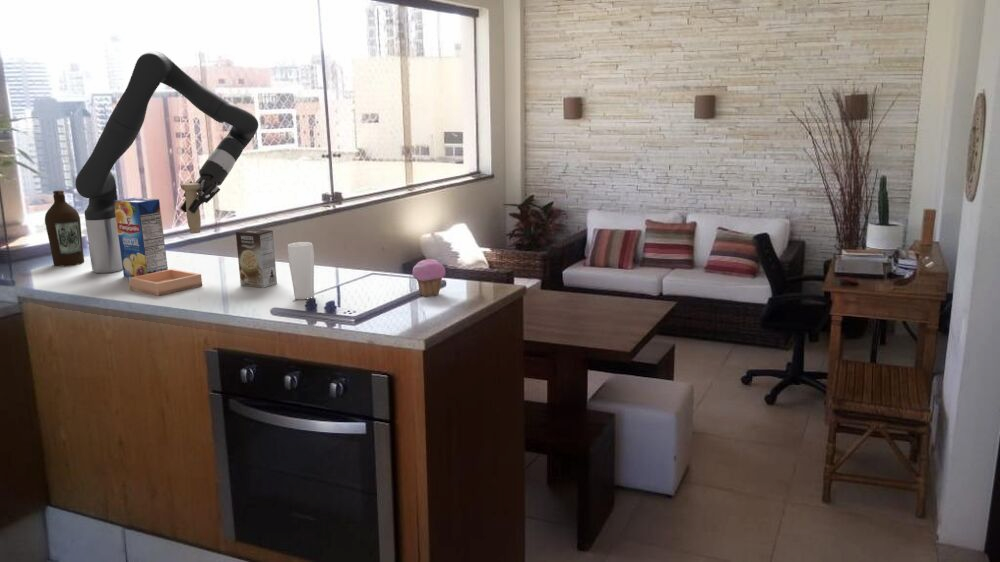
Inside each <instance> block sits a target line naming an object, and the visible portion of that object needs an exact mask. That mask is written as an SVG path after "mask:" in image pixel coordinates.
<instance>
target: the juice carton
mask: <svg viewBox="0 0 1000 562" xmlns="http://www.w3.org/2000/svg"><path fill="white" fill-rule="evenodd" d="M114 208H115V215H116V222H117V230H118V237H119V244H120V252H121V259H122V266H123V270H122V273H123V277H124V278H131V277H135V276H140V275H145V274H150V273H155V272H160V271H164V270H169V269H168V261H167V260H168V259H167V253H166V252H167V251H166V244H165V236H164V235H165V234H164V228H163V219H162V211H161V203H160V198H146V197H145V198H143V197H129V198H123V199H117V200H115V201H114Z"/></svg>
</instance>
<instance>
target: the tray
mask: <svg viewBox="0 0 1000 562" xmlns="http://www.w3.org/2000/svg"><path fill="white" fill-rule="evenodd" d="M128 283H129V289H130V291H134V292H135V291H136V292H140V293H142V294H143V293H144V294H149V295H153V296H157V297H160V296H164V295H170V294H173V293H174V294H175V293H177V292H182V291H185V290H191V289H194V288H199V287H203V280H202V274H201V273H195V272H190V271H186V270H179V269H175V268H170V269H168V270H164V271H160V272H155V273H150V274H145V275H140V276H135V277H131V278H130V277H128Z"/></svg>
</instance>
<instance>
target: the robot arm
mask: <svg viewBox="0 0 1000 562" xmlns="http://www.w3.org/2000/svg"><path fill="white" fill-rule="evenodd" d="M161 84H163V85H166V86H168V87H169V88H172V89H173V90H174V91H177V93H179V94H180V95H181V96H183V97H184V98H185V99H186V100H188V101H189V102H190V104H192V105H193V106H194V107H195V108H197V110H199V111H201V113H203V114H205V115H207V116H208V117H209V118H211V119H213V121H216V122H218V123H220V124H222V123H226V124H228V125H230V126H231V129H230V130H229V131H228V133H227V135H226V136H225V137H223V138H222V140H221V141H220V142H219V143H218V145H217V146H216V148H215V149H214V150H213V152H212V153H211V154H210V155H209V156H208V157H207V159H206V160H205V162H204V164H203V165H202V166H201V168H200V169H199V171H198V173H199V178H198V179H197V180H196V181H195V182H194V183H199V184H200V188H199V189H198V190H197V197H196V200H194V201H193V203H192V204H191V205H190V207H189V208H188V210H189V211H190V212H191V213H195V212H196V211H197V209H198V208H199V209H200V206H201V205H203V204H204V203H206V204H207V203H209V202H210V201H211V200H212V199H213V198H214V197H215V196H216V195H217V194H218V193H219V192H220V190H221V189H220V188H219V187H220V186H221V185H222V184H223V182H224V181H225V180H226V178H227V177H228V175H229V174H230V172H231V171H232V169H233V167H234V165H235V164H236V162H237V160H238V159H239V158H240V156H241V155H242V153H243V151H244V150H245V148H246V147H247V146H248V145H249V143H250V142H251V141H252V140H253V138H254V137H255V135H256V133H257V131H258V128H259V122H258V119H257V118H256V116H254V114H252V113H251V112H249V111H248V110H246V109H243V108H241V107H239V106H236V105H233V104H231V103H229V102H228V101H227V100H225V99H224V98H222V97H221V96H219V95H218V94H216V93H214V91H212V90H210V89H208V88H207V87H206V86H204V85H202V84H201V83H200V82H198V81H197V80H195V78H192V77H191V76H190V75H188V74H187V73H186V72H185V71H184V70H183V69H181V68H180V67H179V66H178V65H177V64H176V63H175V62H174V61H172V60H171V58H169V57H168V56H167V55H166V54H164V53H163V52H161V51H149V52H146V53H143V54H141V55H140V56H139V57H138V58H137V60H136V62H135V64H134V68H133V71H132V73H131V76H130V78H129V81H128V84H127V85H126V88H125V90H124V92H123V94H122V95H121V97H120V98H119V100H118V102H117V103H116V105H115V107H114V109H113V110H112V112H111V114H110V116H109V118H108V119H107V121H106V124H105V126H104V128H103V129H102V132H101V135H99V138H98V140H97V142H96V144H95V146H94V148H93V151H92V153H91V154H90V156H89V157H88V159H87V160H86V162H85V163H84V165H83V167H82V168H81V169H80V171H79V172H78V174H77V175H76V178H75V183H74V184H75V189H76V191H77V193H78V194H79V195H80V196H81V197H82V198H85V199H88V205H87V207H86V209H85V210H84V218H85V219H84V220H85V227H86V232H87V233H86V234H87V239H88V240H87V241H88V242H87V244H88V249H89V250H88V251H89V257H90V265H91V270H92V273H96V274H105V273H106V274H108V273H114V272H116V273H117V272H118V271H119V272H120V271H123V266H122V259H121V252H120V244H119V237H118V230H117V222H116V215H115V208H114V201H115V200H118V193H117V183H116V180H115V177H114V175H113V173H112V172H111V171H112V169H113V167H114V166H115V164H116V162H117V161H118V160H119V159H120V158H121V157H122V156H123V155H124V154H125V153H126V152H127V150H128V149H130V147H131V146H132V145H133V143H134V142H135V140H136V138H137V137H138V136H139V133H140V131H141V129H142V126H143V124H144V122H145V119H146V114H147V111H148V110H147V109H148V105H149V102H150V101H151V98H152V96H154V93H155V92H156V90H157V89H158V88H159V86H160V85H161ZM188 183H193V182H192V181H189V182H188ZM183 197H184V198H185V200H184V201H183V203H182V204H181V206H180V210H181V211H182V212H183V213H186V195H185V192H184V193H183Z"/></svg>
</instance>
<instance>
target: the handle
mask: <svg viewBox="0 0 1000 562" xmlns="http://www.w3.org/2000/svg"><path fill="white" fill-rule="evenodd" d="M179 185H180V188H181V190H182V191H184V193H185V195H186V198H185V200H186V212H185V213H186V220H187V221H186V222H187V226H188V228H189V229H188V230H189V233H190V234H201V223H202V221H201V211H200V207H199V208H198V209H197V211H196V212H195V213H191V212H190V211H189V210H188V208H189V207H190V205H191V204H192V203H193V201H194V200H196V197H197V194H198V193H197V190H198V189H199V188H200V184H199V183H195V182H192V183H189V182H185V183H179Z"/></svg>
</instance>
